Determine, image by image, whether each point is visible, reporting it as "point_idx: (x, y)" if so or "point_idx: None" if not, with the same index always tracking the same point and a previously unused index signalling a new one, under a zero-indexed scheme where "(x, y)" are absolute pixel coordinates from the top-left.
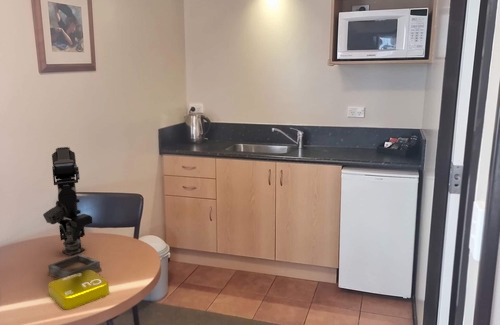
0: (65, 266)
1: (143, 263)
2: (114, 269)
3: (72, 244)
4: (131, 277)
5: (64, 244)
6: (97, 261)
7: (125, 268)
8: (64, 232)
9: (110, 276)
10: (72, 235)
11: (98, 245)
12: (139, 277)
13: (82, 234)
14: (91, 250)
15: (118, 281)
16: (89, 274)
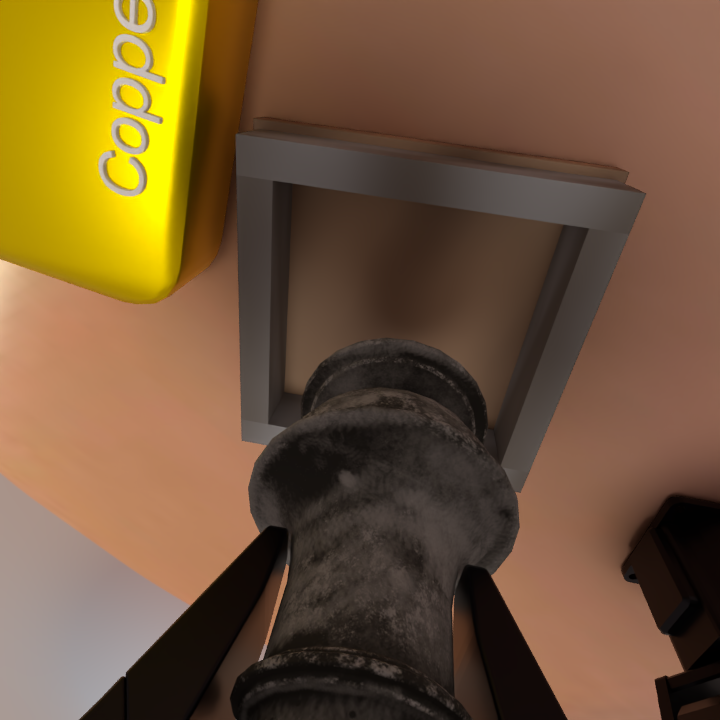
0: (531, 326)
1: (147, 531)
2: (211, 437)
3: (274, 456)
4: (36, 395)
5: (411, 419)
6: (254, 435)
7: (170, 465)
8: (550, 700)
9: (142, 360)
10: (222, 624)
11: (579, 630)
12: (5, 410)
13: (663, 706)
14: (573, 579)
15: (39, 329)
16: (61, 227)
